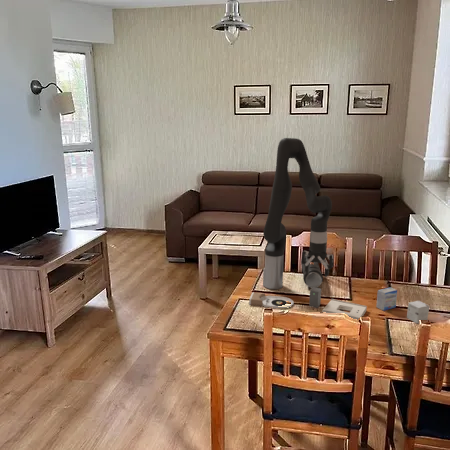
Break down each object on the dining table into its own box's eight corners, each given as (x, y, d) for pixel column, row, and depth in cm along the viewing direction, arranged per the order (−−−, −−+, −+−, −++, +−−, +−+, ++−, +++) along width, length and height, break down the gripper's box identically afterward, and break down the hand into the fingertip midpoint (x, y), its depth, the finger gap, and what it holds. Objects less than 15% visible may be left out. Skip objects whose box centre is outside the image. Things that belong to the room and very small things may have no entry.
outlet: (321, 314, 198) (322, 310, 197) (331, 303, 210) (331, 298, 209) (358, 323, 190) (359, 318, 190) (366, 310, 202) (366, 306, 202)
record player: (252, 290, 217) (294, 294, 213) (252, 296, 218) (294, 300, 214) (248, 300, 206) (292, 304, 202) (248, 306, 207) (292, 311, 203)
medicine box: (383, 311, 202) (385, 293, 200) (375, 307, 206) (377, 289, 203) (396, 307, 205) (397, 290, 203) (388, 304, 209) (390, 286, 207)
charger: (309, 306, 207) (309, 290, 205) (312, 303, 210) (312, 287, 208) (317, 308, 205) (318, 291, 203) (320, 304, 208) (321, 288, 206)
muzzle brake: (317, 271, 251) (318, 254, 248) (322, 291, 224) (324, 271, 221) (300, 271, 252) (300, 253, 249) (303, 290, 225) (304, 271, 222)
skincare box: (406, 318, 195) (408, 302, 193) (416, 315, 198) (418, 300, 196) (417, 323, 190) (419, 307, 188) (427, 321, 192) (429, 305, 190)
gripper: (300, 240, 200) (299, 274, 204) (331, 244, 193) (329, 280, 197) (305, 236, 207) (304, 269, 210) (336, 240, 200) (334, 274, 204)
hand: (316, 274), depth 204 cm, fingers open, 8 cm apart
